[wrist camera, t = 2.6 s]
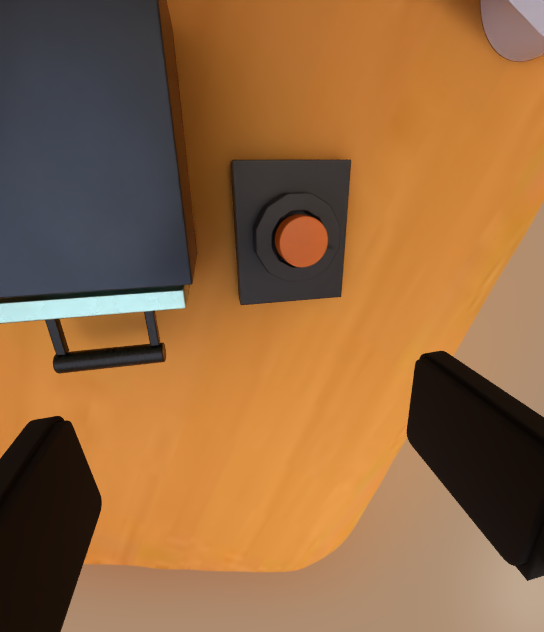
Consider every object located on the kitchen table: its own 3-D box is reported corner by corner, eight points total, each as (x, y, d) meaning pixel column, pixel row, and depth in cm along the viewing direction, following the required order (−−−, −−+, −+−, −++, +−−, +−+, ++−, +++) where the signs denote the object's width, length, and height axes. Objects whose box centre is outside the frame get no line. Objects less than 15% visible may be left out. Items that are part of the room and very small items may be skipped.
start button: (319, 261, 25) (327, 266, 23) (274, 263, 24) (279, 269, 22) (321, 213, 23) (329, 215, 22) (274, 214, 23) (279, 217, 21)
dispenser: (197, 253, 26) (192, 285, 17) (26, 262, 23) (-72, 303, 15) (172, 26, 20) (147, -88, 12) (-56, 11, 18) (-284, -143, 9)
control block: (334, 291, 29) (349, 303, 26) (238, 298, 28) (243, 313, 24) (342, 161, 25) (362, 157, 22) (230, 161, 23) (234, 157, 20)
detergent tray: (198, 331, 27) (195, 377, 20) (55, 344, 25) (1, 400, 19) (167, 74, 20) (147, 18, 13) (-36, 66, 18) (-175, -4, 11)
